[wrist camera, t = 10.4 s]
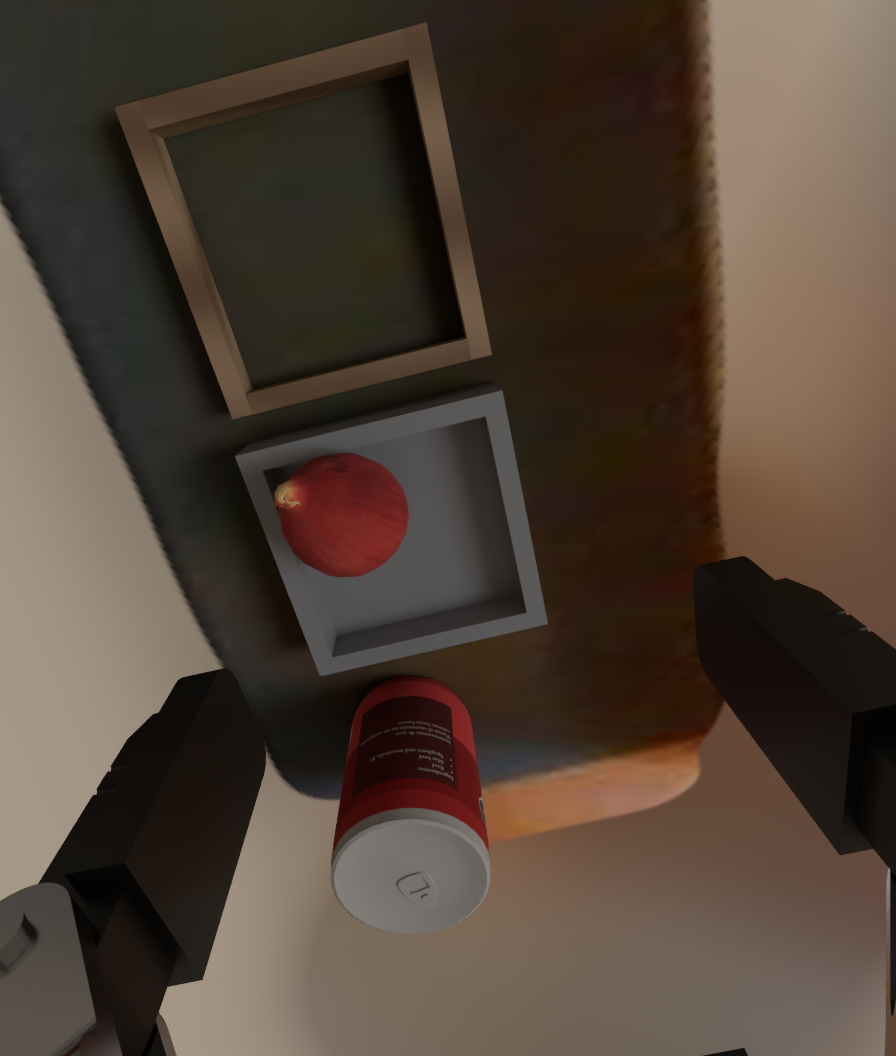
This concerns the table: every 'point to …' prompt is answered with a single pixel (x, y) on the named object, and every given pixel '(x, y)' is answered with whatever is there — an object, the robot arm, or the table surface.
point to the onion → (342, 514)
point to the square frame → (275, 90)
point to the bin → (413, 532)
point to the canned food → (411, 812)
